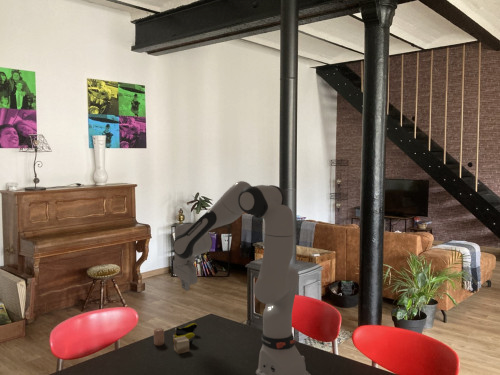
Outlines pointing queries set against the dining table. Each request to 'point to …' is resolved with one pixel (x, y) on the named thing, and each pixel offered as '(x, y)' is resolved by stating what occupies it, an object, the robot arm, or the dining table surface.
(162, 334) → the terracotta cylinder
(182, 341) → the maple block
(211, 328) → the dining table surface
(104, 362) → the dining table surface
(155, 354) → the dining table surface
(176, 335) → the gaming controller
